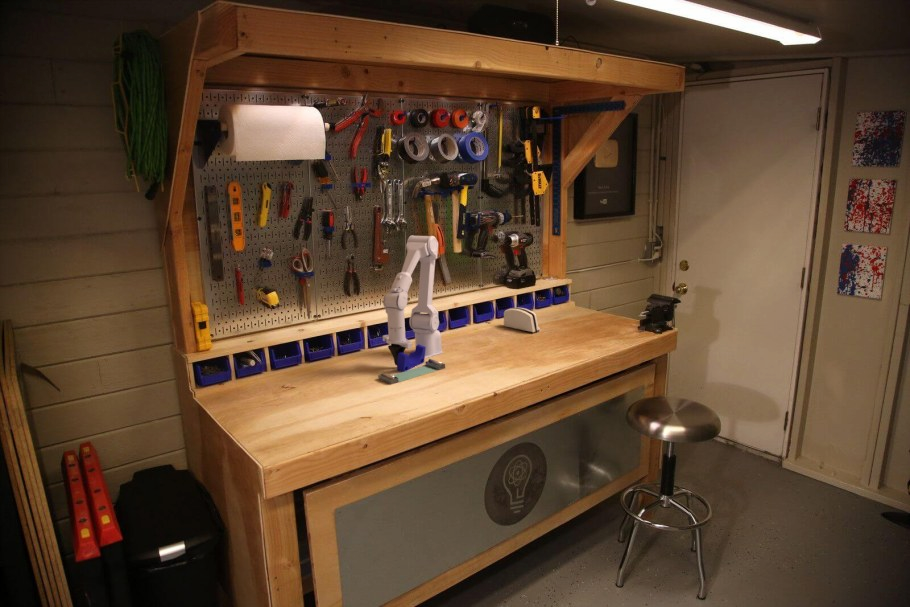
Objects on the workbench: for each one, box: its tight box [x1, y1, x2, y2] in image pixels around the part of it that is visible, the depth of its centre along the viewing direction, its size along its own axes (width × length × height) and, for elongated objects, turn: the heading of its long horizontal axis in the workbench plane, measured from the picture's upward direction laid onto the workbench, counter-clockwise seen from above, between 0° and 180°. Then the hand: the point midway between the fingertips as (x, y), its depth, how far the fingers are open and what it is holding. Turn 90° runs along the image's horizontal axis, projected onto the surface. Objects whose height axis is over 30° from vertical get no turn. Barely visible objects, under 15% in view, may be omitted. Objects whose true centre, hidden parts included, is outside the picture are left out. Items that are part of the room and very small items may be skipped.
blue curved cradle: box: [396, 345, 426, 373], centre depth 213 cm, size 12×4×6 cm, turn 148°
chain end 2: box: [424, 358, 446, 371], centre depth 212 cm, size 3×7×2 cm, turn 42°
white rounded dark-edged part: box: [503, 307, 541, 333], centre depth 257 cm, size 17×5×10 cm, turn 43°
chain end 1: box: [377, 371, 399, 385], centre depth 199 cm, size 3×7×2 cm, turn 42°
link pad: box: [391, 365, 438, 383], centre depth 206 cm, size 16×7×1 cm, turn 132°
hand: (398, 364), depth 212 cm, fingers closed, pressing on blue curved cradle
